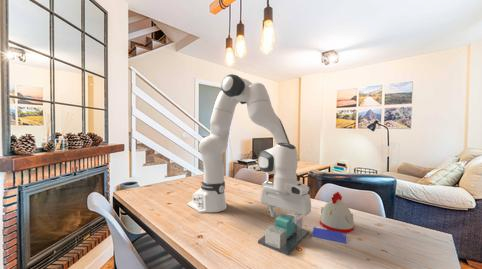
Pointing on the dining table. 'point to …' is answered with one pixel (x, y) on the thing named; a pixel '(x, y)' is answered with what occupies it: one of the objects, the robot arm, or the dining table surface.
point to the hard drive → (329, 236)
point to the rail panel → (289, 242)
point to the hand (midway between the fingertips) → (283, 219)
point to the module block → (285, 223)
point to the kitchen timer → (337, 216)
